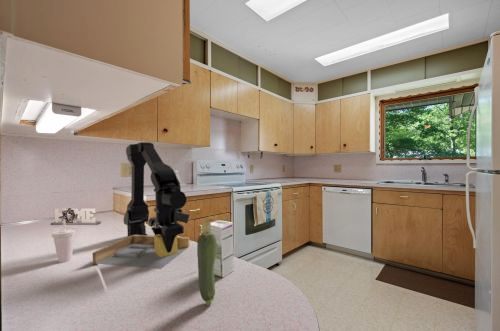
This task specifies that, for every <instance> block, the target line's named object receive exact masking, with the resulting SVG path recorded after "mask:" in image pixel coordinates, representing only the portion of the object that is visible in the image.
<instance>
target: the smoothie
mask: <svg viewBox="0 0 500 331" xmlns="http://www.w3.org/2000/svg"><path fill="white" fill-rule="evenodd" d="M62 221H63V222H62V225H63V226H62V228H63V229H59V230H55V231H53V232H52V233H51V237H52V238H53V242H54V247H55V251H56V258H57V262H58V263H66V261H67V262H69V260H70V261H72V259H73V253H74V252H73V251H74V250H73V249H74V241H75V234H76V229H74V228H69V229H68V228H66V218H63V219H62Z"/></svg>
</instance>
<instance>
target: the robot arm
mask: <svg viewBox="0 0 500 331" xmlns="http://www.w3.org/2000/svg"><path fill="white" fill-rule="evenodd" d="M125 153H126V154H125V155H126V157H127V160H128V162H129V164H130V165H131V196H130V197H131V200H130V201H129V202H128V204H127V206H126V211H125V214H124V216H123V218H122V219H123V224H124V225H126V226H127V236H125V237H124V238H126V237H128V236H131V235H148V233H146V232H147V231H146V228H147V226H146V225H145V223H148V226H149V227H151V228H150V229H151V230H152V232H153V234H154V235H158V234H160V235H161V238H162V240H163V243H164V245H165V248H166V250H167V252H168V253H169V252H171V250H172V246H173V243H174V239H175V237H176V236H177V237H178V235H182V234H184V233H185V227H184V225H182V224H180V223H178V222H181V223H184V224H188V222H189V219H190V216H191V215H190V214H189V213H187V212H183V209H182V208H184V207H185V205H186V203H187V195H186V194H185V192H183V191H181V183H180V181H179V178H178V177H177V174H176V172H175V170H174V169H173V168H172V167H171V166H170V165H168V164H166V163H164V161H163V160H162V158H161V157H160V155H159V153H158V152H157V151H156V149H155V146H154V142H153V143H152V142H150V141H148V142H145V141H143V142H142V141H141V142H138V143H135V144H134V143H130V144H129V145H128V146H127V147H126V149H125ZM146 164H147V166H148V167H149V169H150V171H151V174H150V181H151V184H152V185H153V187H154V189H153V192H155V195H154V196H155V207H154V208H153V209H154V210H153V211H154V212H155V216H153V217H150V218H149V215H150V211H149V205H148V204H147V202H145V199H144V198H145V197H144V194H145V191H144V190H145V186H144V185H145V165H146Z"/></svg>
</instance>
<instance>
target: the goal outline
mask: <svg viewBox="0 0 500 331" xmlns="http://www.w3.org/2000/svg"><path fill="white" fill-rule="evenodd" d="M133 247H134V248H147V249H145V250H143V251H141V252H140V253H138V254H137V253H123V252H125V251H127V250H129V249H131V248H133ZM152 249H154V245H147V244H131V245H129V246H127V247H125V248H123V249H121V250H119V251H117V252H115V253H114V256H118V257H132V258H139V257H141V256H142V255H144V254H146V253H147V252H149V251H151V250H152Z"/></svg>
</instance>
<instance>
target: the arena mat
mask: <svg viewBox="0 0 500 331" xmlns="http://www.w3.org/2000/svg"><path fill="white" fill-rule="evenodd" d="M145 249H147V248H134V247H133V248H131V249H129V250H127V251H125V252H123V253H137V254H138V253H140V252H141V251H143V250H145ZM187 249H188V248H186V247H178V253H175V254H171V255H168V256H164V257H159V256H158V255H157V254H156V253H155V251H154V249H152V250H151V251H149V252H147V253H146V254H144V255H142V256H141V257H139V258H132V257H118V256H114V255H112V256H110V257H108V258H106V259H104V260H102V261H100V262H98V263H96V265H95V264H93V263H92V265H93V266H96V267H97V266H99V265H107V266H108V265H109V266H120V267H121V266H122V267H133V268H134V267H135V268H145V269H146V268H147V269H157V270H158V269H159V270H161V269H163V268H164V267H165V266H167V265H168V264H169V263H170V262H172V261H173V260H174V259H176V258H177V257H178V256H179V255H181V254H182V253H183V252H185V251H186V250H187Z"/></svg>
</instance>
